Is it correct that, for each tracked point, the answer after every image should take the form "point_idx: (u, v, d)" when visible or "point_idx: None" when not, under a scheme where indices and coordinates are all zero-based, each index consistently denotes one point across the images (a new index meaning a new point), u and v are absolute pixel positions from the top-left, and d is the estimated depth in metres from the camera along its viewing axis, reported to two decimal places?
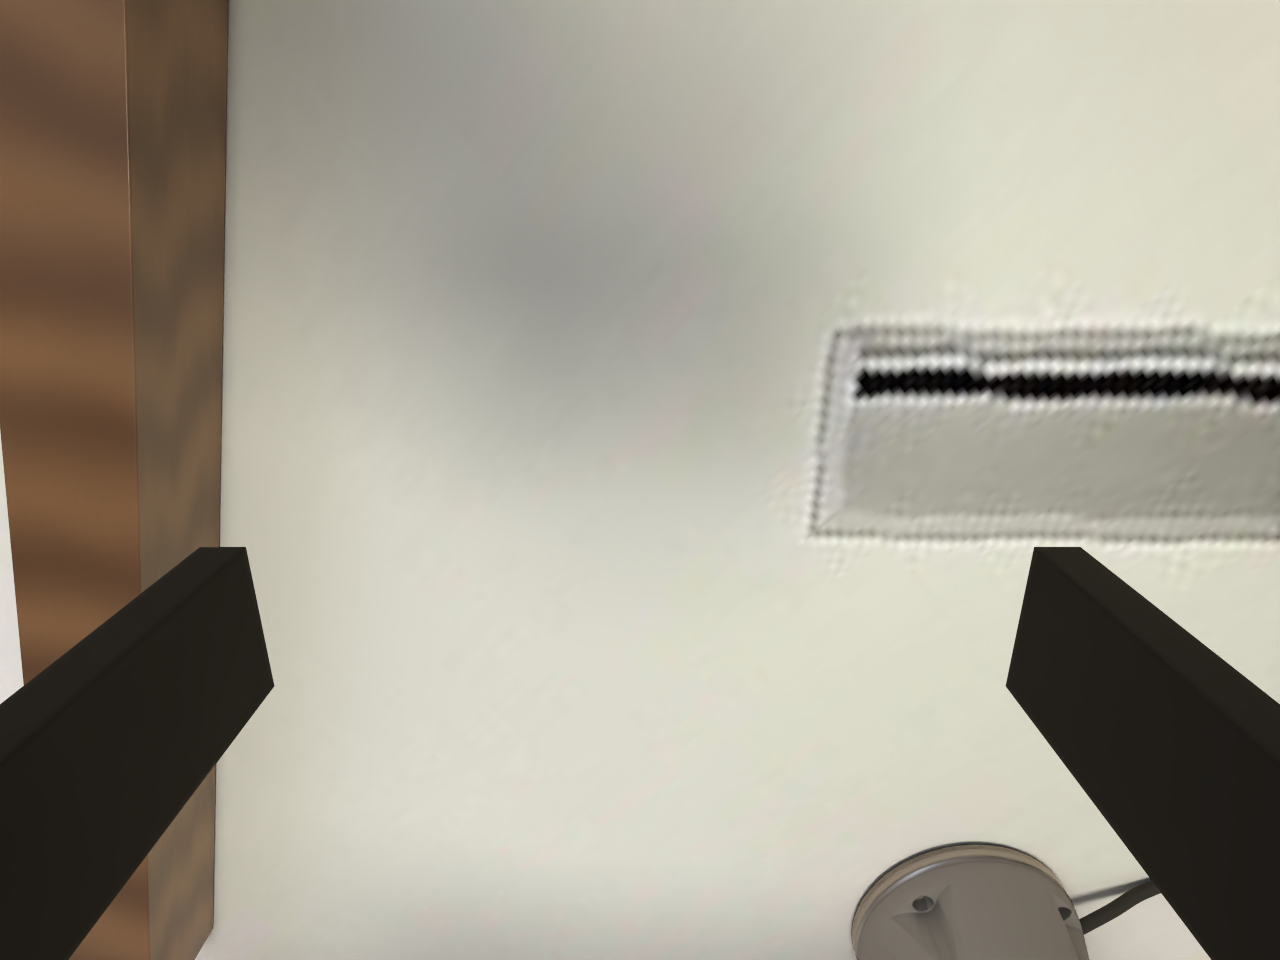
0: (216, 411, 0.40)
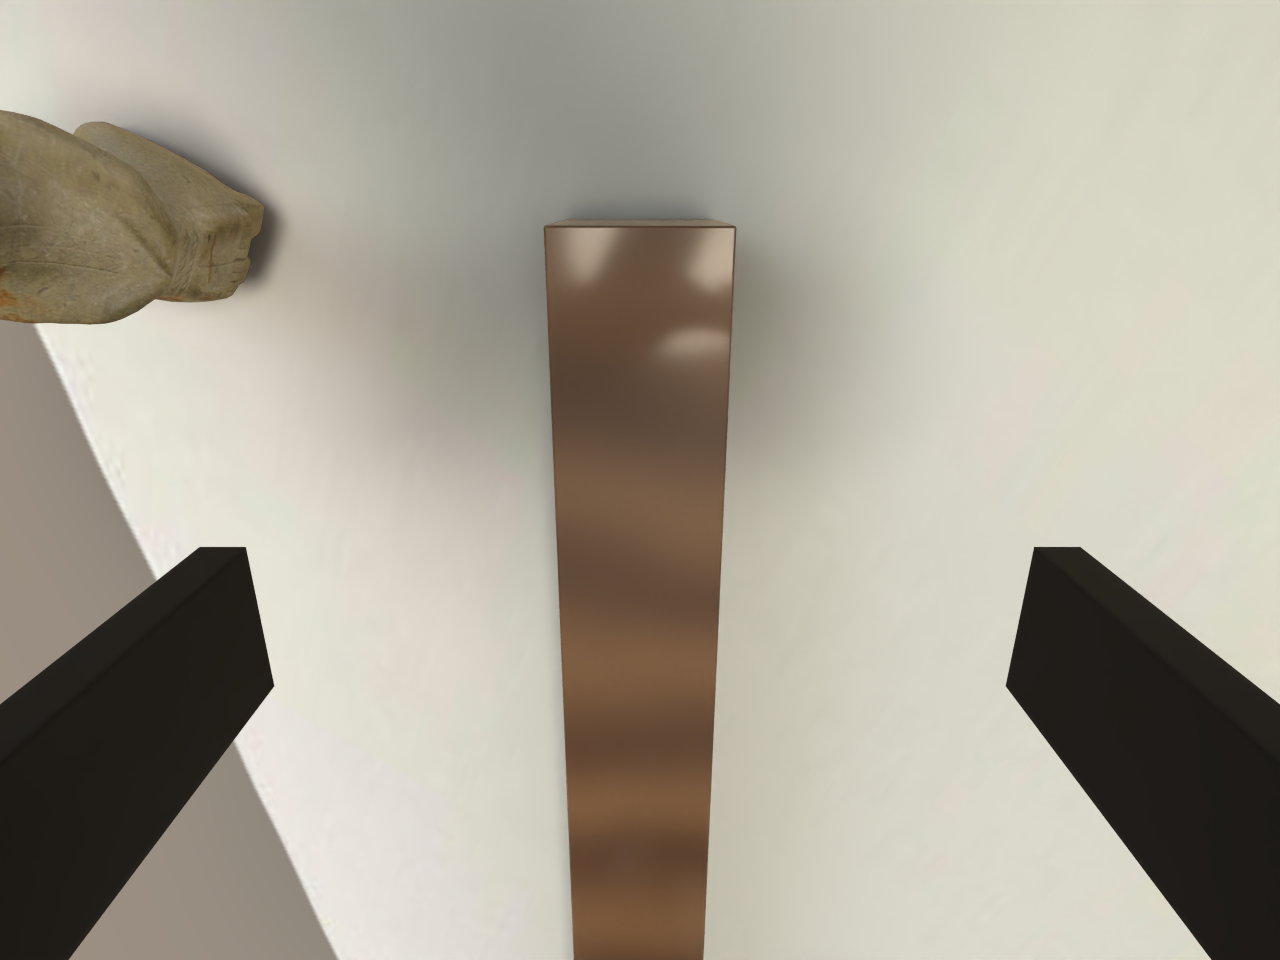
0: None
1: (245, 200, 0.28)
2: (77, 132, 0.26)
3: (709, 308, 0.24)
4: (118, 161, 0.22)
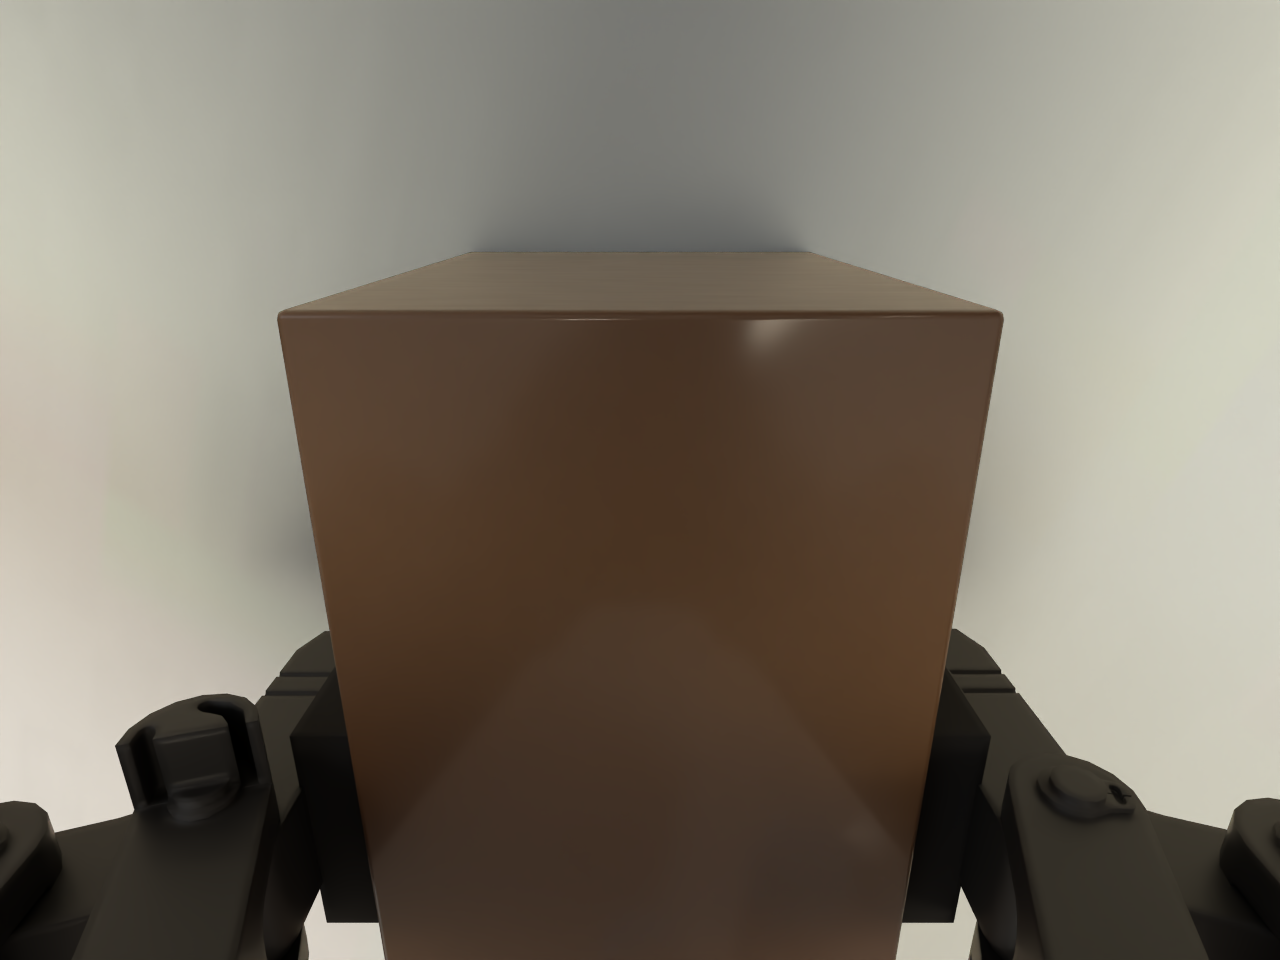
0: None
1: None
2: None
3: (881, 585, 0.07)
4: None
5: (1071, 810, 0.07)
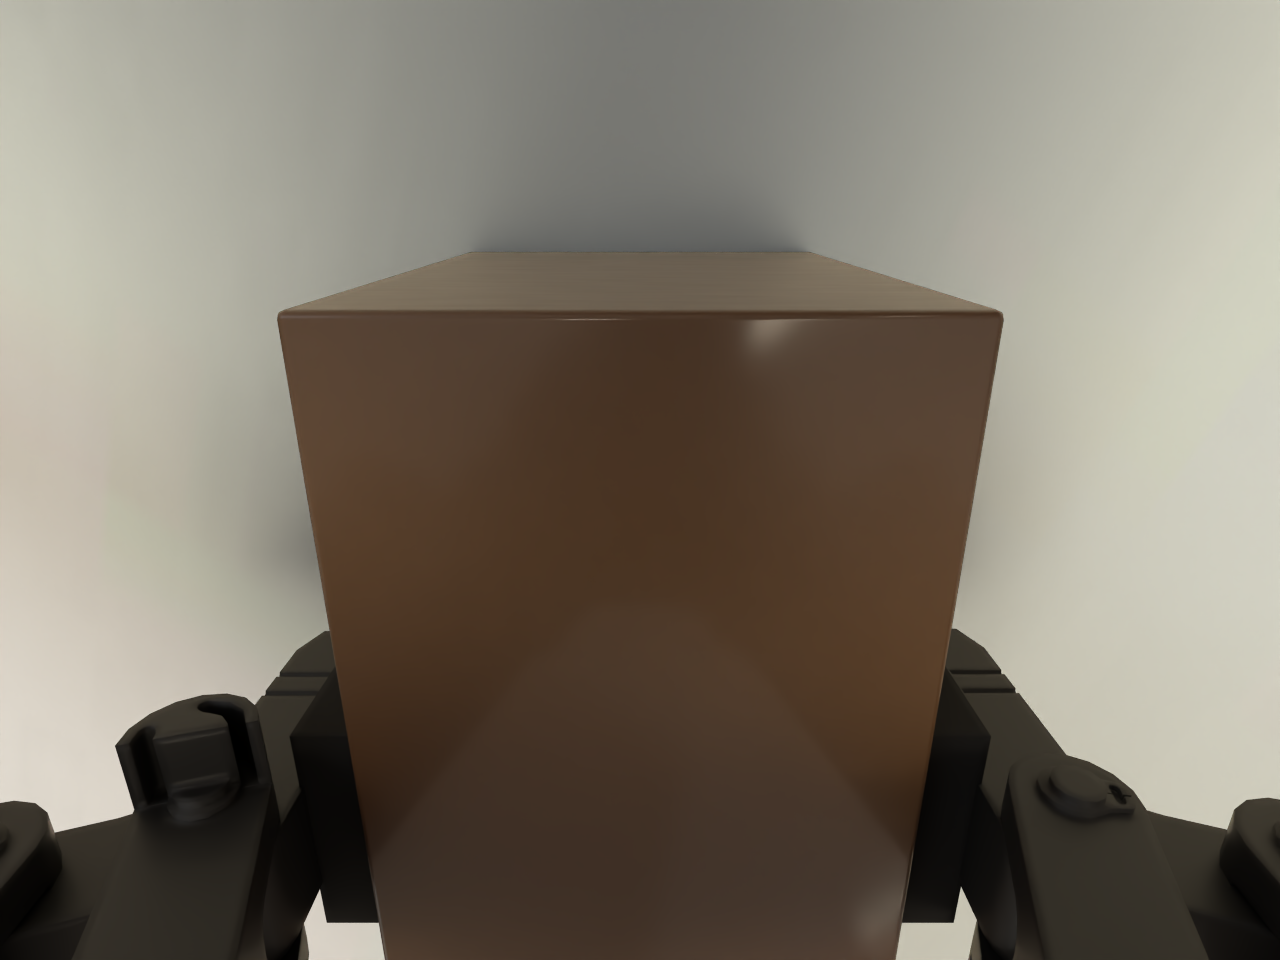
0: None
1: None
2: None
3: (881, 584, 0.07)
4: None
5: (1071, 810, 0.07)
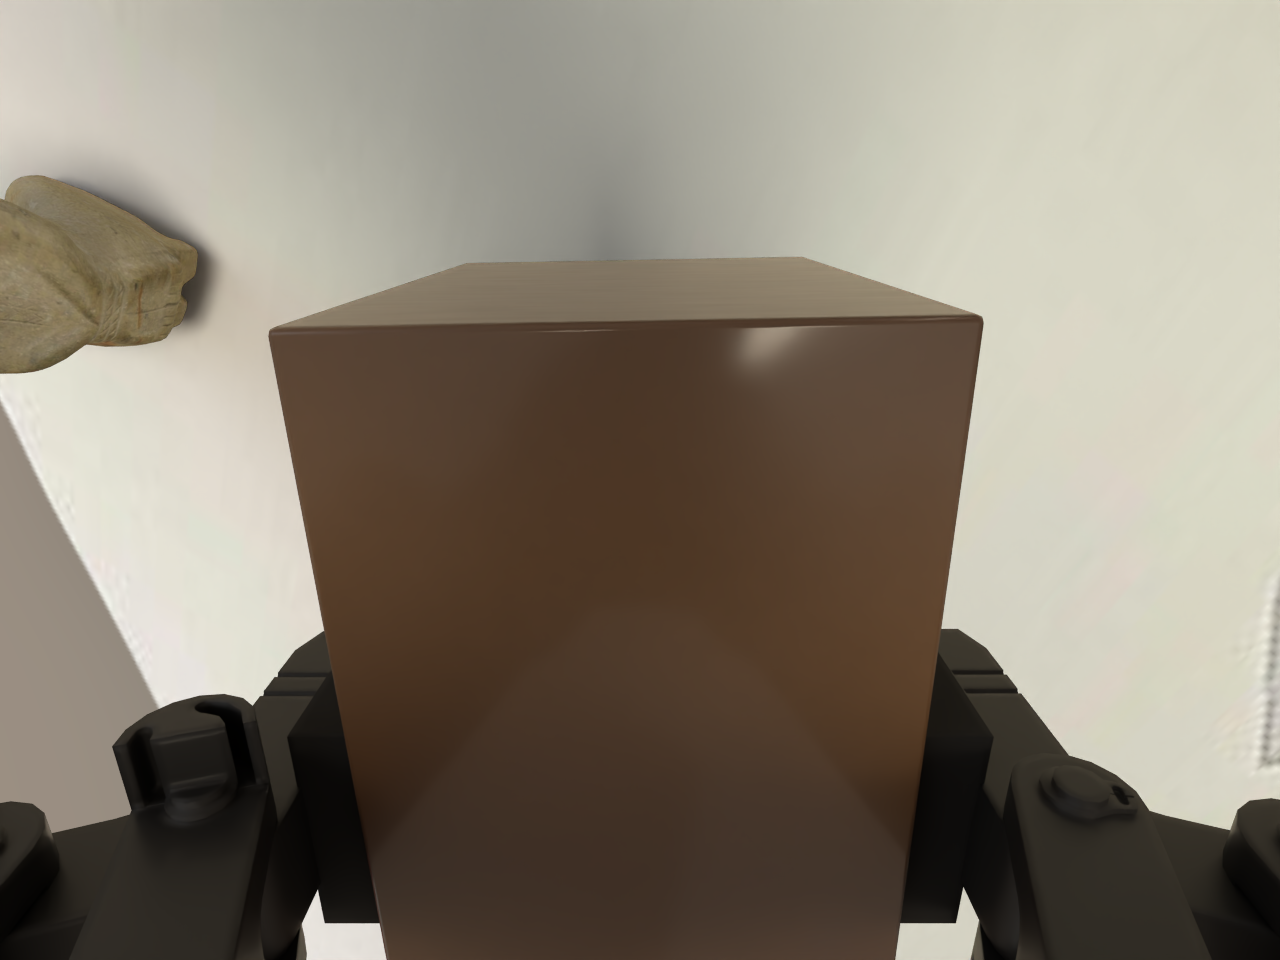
0: None
1: (177, 247, 0.29)
2: (11, 187, 0.27)
3: (869, 587, 0.07)
4: (39, 219, 0.23)
5: (1074, 811, 0.07)
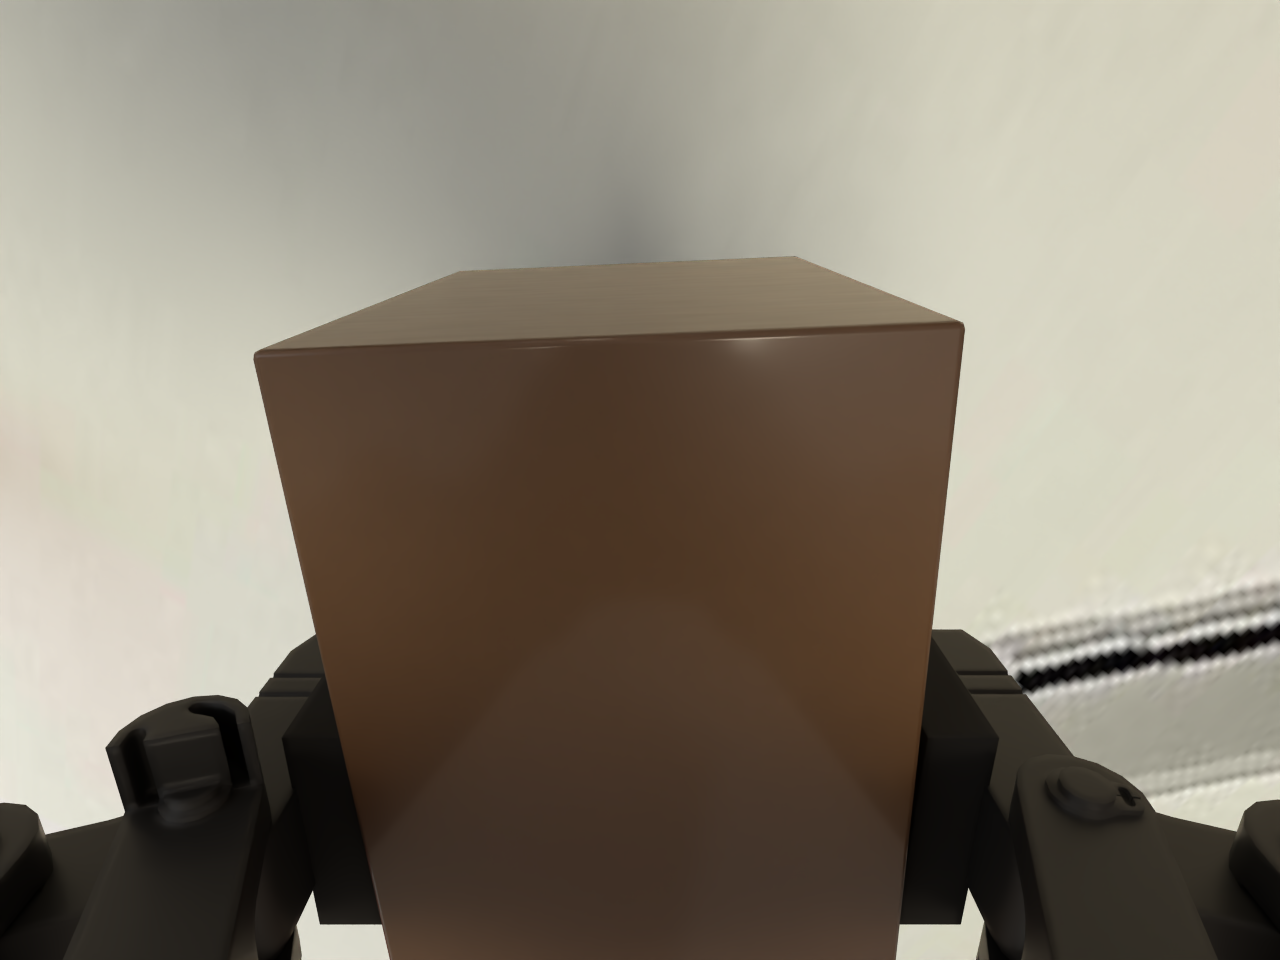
0: None
1: None
2: None
3: (858, 594, 0.07)
4: None
5: (1079, 812, 0.07)
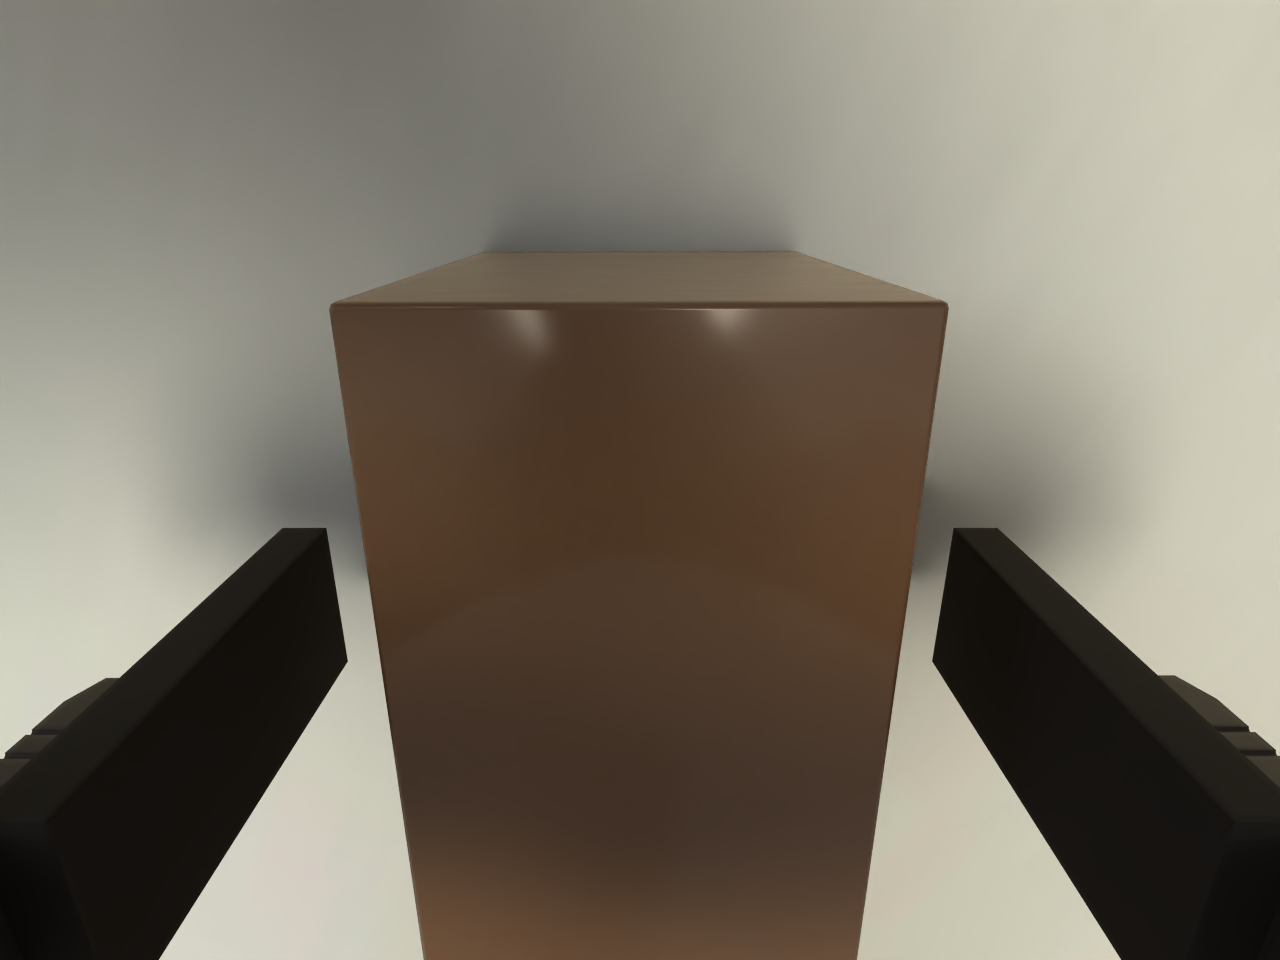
0: None
1: None
2: None
3: (848, 540, 0.08)
4: None
5: None
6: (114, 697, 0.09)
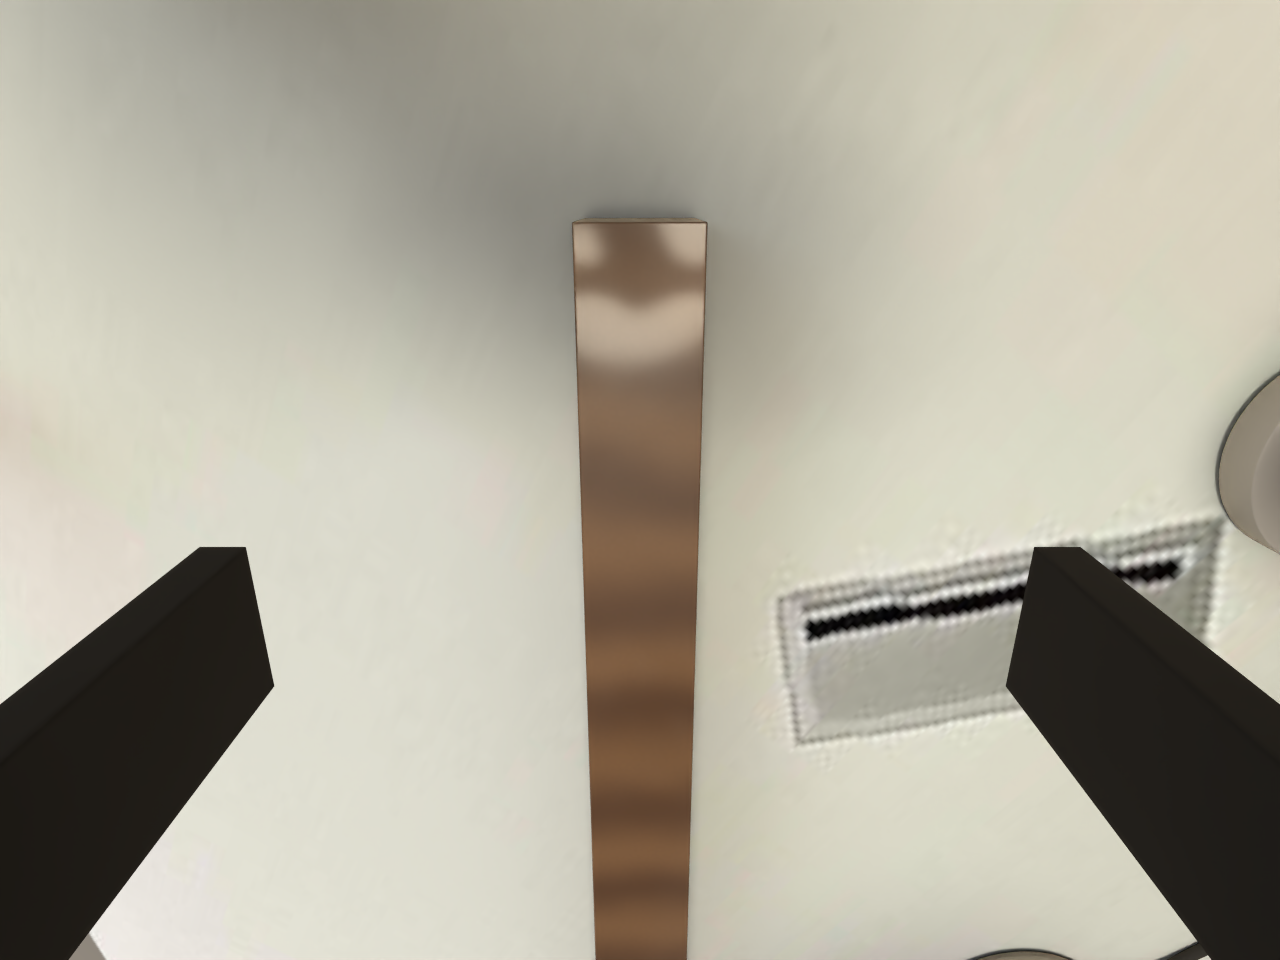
0: None
1: None
2: None
3: (689, 280, 0.33)
4: None
5: None
6: None
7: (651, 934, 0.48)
